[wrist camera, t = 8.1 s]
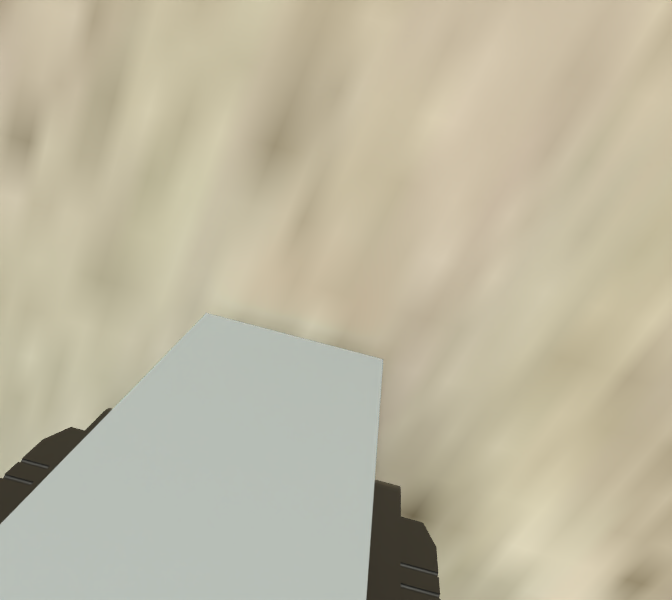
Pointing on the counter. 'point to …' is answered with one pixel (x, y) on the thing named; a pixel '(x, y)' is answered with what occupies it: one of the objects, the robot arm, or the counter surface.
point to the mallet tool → (213, 480)
